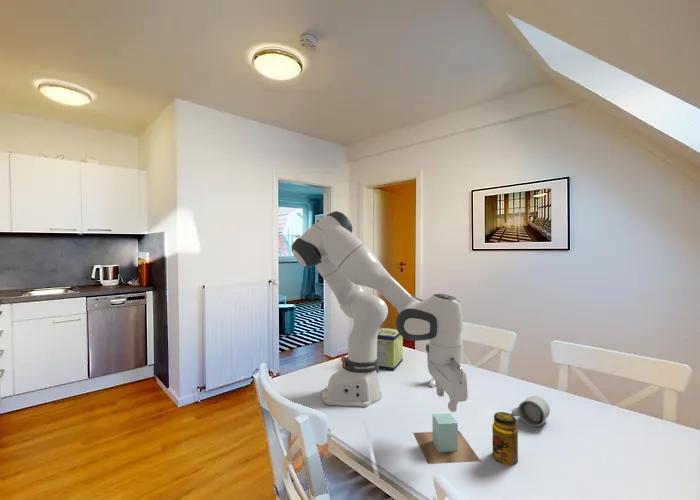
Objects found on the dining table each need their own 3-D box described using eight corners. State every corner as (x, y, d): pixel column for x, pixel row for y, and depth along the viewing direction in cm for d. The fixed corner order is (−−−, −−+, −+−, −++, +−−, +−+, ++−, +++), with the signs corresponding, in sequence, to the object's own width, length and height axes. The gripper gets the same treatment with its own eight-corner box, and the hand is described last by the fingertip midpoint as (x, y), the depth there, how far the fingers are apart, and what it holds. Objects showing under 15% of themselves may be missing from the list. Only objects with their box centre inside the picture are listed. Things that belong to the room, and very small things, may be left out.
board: (427, 467, 84) (427, 463, 84) (413, 436, 98) (413, 432, 98) (480, 464, 85) (480, 460, 85) (459, 434, 99) (459, 430, 99)
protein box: (403, 360, 163) (403, 329, 163) (394, 371, 149) (394, 337, 149) (382, 357, 167) (382, 327, 167) (372, 367, 153) (372, 334, 153)
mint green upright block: (457, 451, 89) (457, 423, 89) (438, 452, 89) (438, 424, 89) (450, 439, 94) (450, 413, 94) (432, 440, 94) (432, 414, 94)
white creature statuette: (429, 387, 132) (429, 357, 132) (427, 378, 140) (427, 350, 140) (454, 388, 131) (454, 358, 130) (450, 380, 139) (450, 351, 139)
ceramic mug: (551, 420, 107) (550, 396, 107) (544, 430, 101) (544, 405, 101) (516, 409, 114) (515, 387, 114) (508, 418, 108) (507, 395, 108)
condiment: (486, 462, 86) (487, 416, 86) (496, 447, 93) (497, 404, 92) (517, 474, 81) (517, 426, 81) (525, 458, 88) (525, 413, 88)
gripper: (474, 366, 81) (474, 421, 82) (443, 342, 102) (443, 386, 102) (449, 367, 81) (449, 423, 81) (423, 342, 101) (423, 387, 101)
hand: (446, 402), depth 92 cm, fingers open, 7 cm apart
